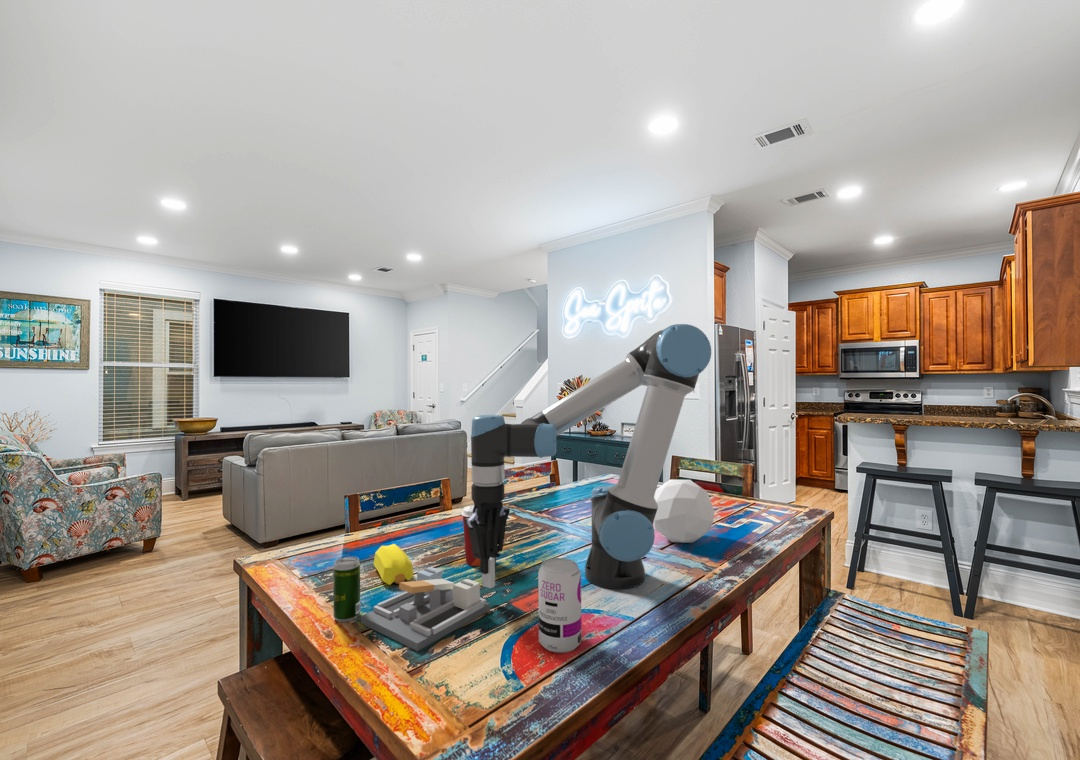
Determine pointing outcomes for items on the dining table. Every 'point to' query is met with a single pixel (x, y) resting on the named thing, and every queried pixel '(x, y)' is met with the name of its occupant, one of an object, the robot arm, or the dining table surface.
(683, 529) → the geometric orb
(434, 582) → the rocker
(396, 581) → the yellow faceted dome
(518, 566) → the dining table surface
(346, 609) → the beer can
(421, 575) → the slider
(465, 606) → the slider
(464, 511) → the coffee cup
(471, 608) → the grey slider track base
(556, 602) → the supplement can
